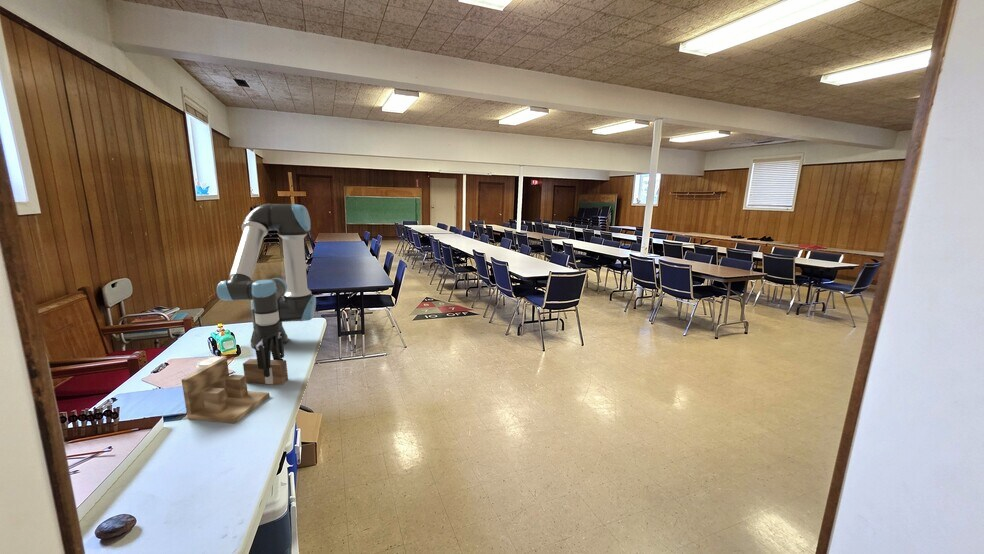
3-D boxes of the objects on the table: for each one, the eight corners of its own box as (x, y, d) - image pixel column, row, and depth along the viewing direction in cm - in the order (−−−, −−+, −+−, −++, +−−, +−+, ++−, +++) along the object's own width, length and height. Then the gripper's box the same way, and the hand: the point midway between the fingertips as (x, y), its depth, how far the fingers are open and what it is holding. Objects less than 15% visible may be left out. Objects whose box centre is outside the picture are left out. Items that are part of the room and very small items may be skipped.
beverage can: (213, 398, 130) (209, 366, 128) (194, 395, 132) (189, 364, 129) (233, 387, 138) (230, 357, 136) (215, 384, 140) (211, 354, 137)
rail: (252, 377, 145) (249, 358, 143) (288, 379, 145) (286, 360, 143) (245, 383, 141) (242, 363, 140) (282, 384, 141) (280, 365, 139)
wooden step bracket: (227, 392, 135) (222, 357, 132) (269, 396, 133) (265, 361, 130) (187, 418, 119) (181, 379, 116) (234, 423, 118) (229, 383, 115)
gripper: (273, 314, 147) (279, 369, 152) (240, 329, 130) (248, 391, 135) (291, 315, 146) (296, 371, 151) (261, 331, 129) (267, 393, 135)
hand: (273, 380), depth 143 cm, fingers closed on rail, 4 cm apart
